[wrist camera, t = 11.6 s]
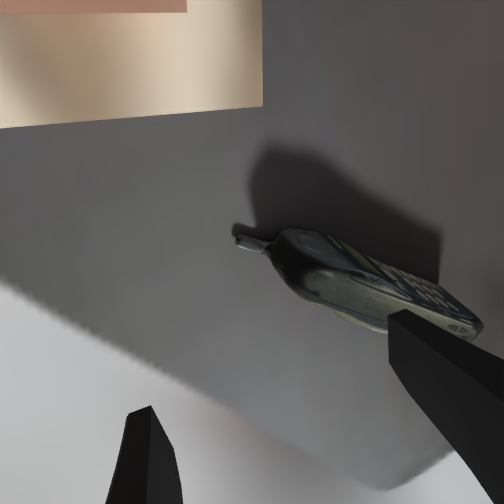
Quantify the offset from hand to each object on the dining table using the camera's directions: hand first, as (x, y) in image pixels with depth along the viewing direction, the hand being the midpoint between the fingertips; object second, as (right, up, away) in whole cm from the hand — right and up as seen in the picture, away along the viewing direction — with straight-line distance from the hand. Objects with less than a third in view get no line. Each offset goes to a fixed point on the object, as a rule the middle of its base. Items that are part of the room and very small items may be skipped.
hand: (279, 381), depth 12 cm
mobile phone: (+5, +3, +13) cm, 14 cm away
